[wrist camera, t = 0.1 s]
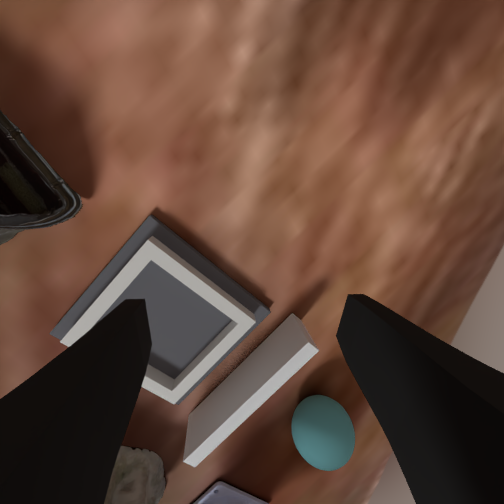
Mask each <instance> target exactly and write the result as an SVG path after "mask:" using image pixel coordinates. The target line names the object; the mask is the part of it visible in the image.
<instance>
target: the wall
mask: <svg viewBox="0 0 504 504" xmlns="http://www.w3.org/2000/svg"><path fill="white" fill-rule="evenodd" d="M318 351H319V350H318V348H317V346H316V344H315V343H314V341H313V339H312V338H311V336H310V334H309V333H308V331H307V329H306V327H305V326H304V324H303V322H302V321H301V320H300V319H299V318H298V317H297V316H295V315H294V314H293V313H292V314H291V315H290V316H289V317H288V318H287V319H286V320H285V321H284V322H283V323H282V324H281V325H280V326H279V327H278V328H276V329H275V330H274V331H273V332H272V333H271V334H270V335H269V336H268V337H267V338H266V339H265V340H264V341H263V342H262V343H261V344H260V345H259V346H258V347H257V348H256V349H255V350H254V351H253V352H252V353H251V354H250V355H249V356H248V357H247V358H246V359H245V360H244V361H243V362H242V363H241V364H240V365H239V366H238V367H237V368H236V369H235V370H234V371H233V372H232V373H231V374H230V375H229V376H228V377H227V378H226V379H225V380H224V381H223V382H222V383H221V384H220V385H219V386H218V387H217V388H216V389H215V390H214V391H213V392H212V393H211V394H210V395H209V396H208V397H207V398H206V399H204V400H203V401H202V402H201V403H200V404H199V405H198V406H197V407H196V408H195V409H194V410H193V411H192V412H191V413H190V414H189V418H188V426H187V434H186V442H185V450H184V458H183V462H185V463H187V464H189V465H191V466H193V467H196V466H197V465H198V464H199V463H200V462H201V461H202V460H203V459H204V458H205V457H206V456H208V455H209V454H210V453H211V452H212V451H213V450H214V449H215V448H216V447H217V446H218V445H219V444H220V443H221V442H222V441H223V440H225V439H226V438H227V437H228V436H229V435H230V434H231V433H232V432H233V431H234V430H235V429H236V428H237V427H238V426H239V425H241V424H242V423H243V422H244V421H245V420H246V419H247V418H248V417H249V416H250V415H251V414H252V413H253V412H254V411H255V410H256V409H258V408H259V407H260V406H261V405H262V404H263V403H264V402H265V401H266V400H267V399H268V398H269V397H270V396H271V395H272V394H274V393H275V392H276V391H277V390H278V389H279V388H280V387H281V386H282V385H283V384H284V383H285V382H286V381H287V380H288V379H289V378H291V377H292V376H293V375H294V374H295V373H296V372H297V371H298V370H299V369H300V368H301V367H302V366H303V365H304V364H305V363H306V362H308V361H309V360H310V359H311V358H312V357H313V356H314V355H315V354H316V353H317V352H318Z"/></svg>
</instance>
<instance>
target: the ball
mask: <svg viewBox="0 0 504 504" xmlns="http://www.w3.org/2000/svg"><path fill="white" fill-rule="evenodd" d="M292 436H293V440H294V443H295V445H296V447H297V449H298V451H299V453H300V454H301V456H302V457H303V458H304V459H305V460H306V461H307V462H308V463H309V464H311V465H312V466H314V467H316V468H318V469H321V470H326V471H332V470H336V469H339V468H341V467H342V466H344V465H345V464H346V463H347V462H348V460H349V459H350V457H351V455H352V453H353V450H354V446H355V433H354V428H353V424H352V421H351V419H350V417H349V415H348V414H347V412H346V411H345V409H344V408H343V407H342V406H341V405H340V404H339V403H338V402H336V401H335V400H333V399H332V398H330V397H327V396H323V395H313V396H309V397H307V398H305V399H304V400H302V401H301V402H300V403H299V404H298V406H297V407H296V409H295V411H294V414H293V417H292Z"/></svg>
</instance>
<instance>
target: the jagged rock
mask: <svg viewBox="0 0 504 504" xmlns="http://www.w3.org/2000/svg"><path fill="white" fill-rule="evenodd" d="M163 475H164V469H163V462H162V459H161V457H159V456H158V455H157V454H156V453H154V452H152V451H150V452H149V450H147V449H143V450H140V449H138V448H136V450H132V448H131V447H127V446H126V447H125V446H121V447H120V450H119V453H118V456H117V459H116V462H115V465H114V469H113V472H112V475H111V479H110V483H109V487H108V491H107V495H106V498H105V502H104V504H158V502H159V501H160V499H161V498H162V496H163V493H164V490H165V484H166V482H165V481H166V480H165V477H164V478H163Z"/></svg>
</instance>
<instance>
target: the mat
mask: <svg viewBox="0 0 504 504" xmlns="http://www.w3.org/2000/svg"><path fill="white" fill-rule="evenodd" d="M125 299H145V302H146V308H147V315H148V321H149V327H150V334H151V340H152V347H151V352H150V357H149V361H148V366H147V370H146V374H145V377H144V380H143V383H142V386H141V387H143V388H145V389H147V390H149V391H150V392H152V393H154V394H156V395H158V396H160V397H161V398H163V399H165V400H167V401H169V402H170V403H172V404H175V403H176V404H178V405H179V404H180V403H181V402H182V401H183V400H184V399H185V398H186V397H187V396H188V395H189V394H190V393H191V392H192V391H193V390H194V389H195V388H196V387H197V386H198V385H199V384H200V383H201V382H202V381H203V380H204V379H205V378H206V377H207V376H208V375H209V374H210V373H211V372H212V371H213V370H214V369H215V368H216V367H217V366H218V365H219V364H220V363H221V362H222V361H223V360H224V359H225V358H226V357H227V356H228V355H229V354H230V353H231V352H232V351H233V350H234V349H235V348H236V347H237V346H238V345H239V344H240V343H241V342H242V341H243V340H244V339H245V338H246V337H247V336H248V335H249V334H250V333H251V332H252V331H253V330H254V329H255V328H256V327H257V326H258V325H259V324H260V323H261V322H262V321H263V320H264V319H265V318H266V317H267V316H268V315H269V314H270V313H271V312H270V309H269V308H268V307H267V306H265V305H264V304H263V303H262V302H260V301H259V300H258V299H257V298H255V297H254V296H253V295H252V294H250V293H249V292H248V291H247V290H245V289H244V288H243V287H242V286H240V285H239V284H238V283H237V282H235V281H234V280H233V279H232V278H230V277H229V276H228V275H227V274H225V273H224V272H223V271H222V270H220V269H219V268H218V267H217V266H215V265H214V264H213V263H212V262H210V261H209V260H208V259H207V258H205V257H204V256H203V255H202V254H200V253H199V252H198V251H197V250H195V249H194V248H193V247H192V246H190V245H189V244H188V243H187V242H185V241H184V240H183V239H182V238H180V237H179V236H178V235H177V234H175V233H174V232H173V231H172V230H170V229H169V228H168V227H167V226H165V225H164V224H163V223H162V222H161V221H159V220H158V219H157V218H156V217H154V216H153V215H150V216H149V217H148V218H147V219H146V220H145V221H144V223H143V224H142V225H141V226H140V227H139V229H138V230H137V231H136V232H135V233H134V234H133V236H132V237H131V238H130V239H129V240H128V242H127V243H126V244H125V245H124V246H123V247H122V249H121V250H120V251H119V252H118V253H117V255H116V256H115V257H114V258H113V259H112V260H111V262H110V263H109V264H108V265H107V266H106V268H105V269H104V270H103V271H102V272H101V273H100V275H99V276H98V277H97V278H96V279H95V281H94V282H93V283H92V284H91V285H90V286H89V288H88V289H87V290H86V291H85V292H84V294H83V295H82V296H81V297H80V298H79V299H78V301H77V302H76V303H75V304H74V305H73V306H72V308H71V309H70V310H69V311H68V312H67V314H66V315H65V316H64V317H63V318H62V319H61V321H60V322H59V323H58V324H57V325H56V327H55V328H54V329H53V330H52V331H51V332H50V334H51V335H52V336H54V337H56V338H58V339H60V340H61V341H60V342H61V343H63V344H65V345H66V346H68V347H70V346H71V345H72V344H73V343H75V342H76V341H77V340H78V339H79V338H80V337H82V336H83V335H84V334H85V333H86V332H88V331H89V330H90V329H91V328H92V327H94V326H95V325H96V324H97V323H98V322H99V321H101V320H102V319H103V318H104V317H105V316H106V315H108V314H109V313H110V312H111V311H112V310H113V309H114V308H116V307H117V306H118V305H119V304H120V303H122V302H123V301H124V300H125Z"/></svg>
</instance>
